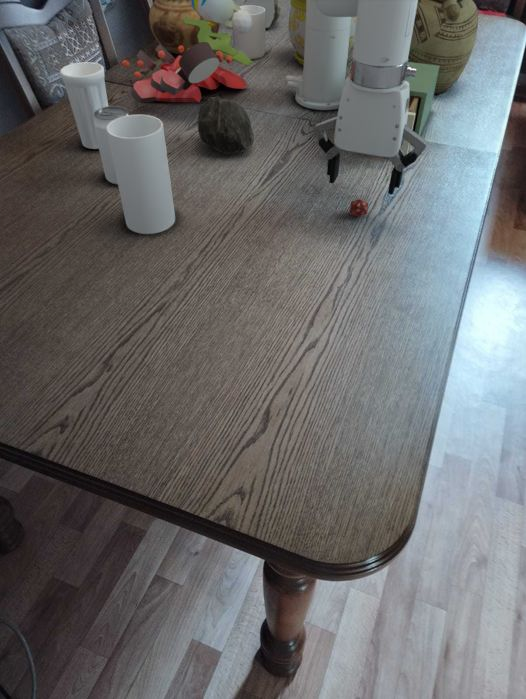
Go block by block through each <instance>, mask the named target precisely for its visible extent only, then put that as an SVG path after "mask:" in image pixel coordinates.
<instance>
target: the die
mask: <svg viewBox="0 0 526 699" xmlns="http://www.w3.org/2000/svg"><path fill="white" fill-rule="evenodd" d="M368 208H369V203H368V202H367V201H364V200H363V199H360V198H359V199H356V200H351V201H350V205H349V210H348V211H349V212H348V213H349V214H351V215H353V216H355V217H358V218H359V217H361V216H365V215H368Z"/></svg>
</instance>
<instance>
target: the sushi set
mask: <svg viewBox="0 0 526 699" xmlns="http://www.w3.org/2000/svg"><path fill="white" fill-rule="evenodd" d="M191 4H192V7H193V8H194V10H195V11H196V12H197V14H198V15H199V16H200V17H201V18H202V19H203V20H189V19H188V17H187V13H186V15H185V18H184V22H185V24H188V25H192V26H197V27H199V28H200V31H199V33H198V35H197V37H198V41H199V43H198V44H195V45H193V46H192V47H190V48H188V49H187V51H185V52H184V54H183V55H180V54H178V55H177V56H176V58H175V57H173V55H172V54H171V52H170V51H168V50H166V49H165V48H164V47H163V46H162V45H160V44H159V43H158V46H156V48H155V51H156V52H157V57H158V58H160V59H162V60H163V61H164V62H165V63H162V64H159V66H160V69H159V70H158V71H154V69H156V67H157V66H158V65H157V64H156V63H155V62H154V61H153V60H152V59H151V58H150V57H149V56H148V55H147V54H146V53H145V52H144V51H143V50H141V49H140V50H139V52H137V54H136V57H137V58H138V59H139V60H138V61H137V62H136V65H137V67H138V68H143V67H144V66H145V67H146V68H147V69H148V70H150V71H152V72H153V71H154V73H152V76H151V77H150V78H142V79H141V80H140V78H141V77H142V74H141V72H140V71H135V72H133V73H134V74H133V76H134V78H135V79H136V81H135V82H134V84H133V85H132V87H131V89H130V93H131V95H132V96H133V97H134V99H135V100H136V102H138V104H142V103H151V102H154V101H155V102H164V103H200V102H201V99H202V93H201V89H200V87H201V88H204V89H206V90H207V89H208V90H211V91H212V90H216V89H217V88H218V87H220V83H221V84H222V85H224V86H226V87H227V88H231V89H245V88H246V87H247V86H248V83H247V82H246V81H245V79H244V77H242V76H240V75H239V74H238V73H236V72H234V71H232V70H229V69H227V68H225V67H223V66H220V63H223V62H224V61H225V62H226V63H228V64H231V63H232V62H233V61H234V62H236V63H239V64H241V65H244V66H246V67H249V66H250V65H252V64H254V61H253V60H252V59H249V58H248V57H247V56H246V55H245V54H244V53H243V52H242V51H237V50H236V49H234V48H233V45H231V43H232V41H233V36H231V35H230V34H228V33H227V32H226V33H225V32H218V33H212V31H211V26H214V25H216V24H218V23H220V24H221V25H222V24H224V25H225V26H227V27H228V28H232V30H233V29H234V30H235V31H236V32H237V33H240V34H244V33H247V32H248V31H249V30H250V29H251V26H252V24H253V22H252V17H251V15H250V14H249V13H248V12H247V11H245V10H243V9H242V10H241V8H240V7H239V6H240V5H238V4H237V3H235V2H234V1H233V0H191ZM205 20H206V21H205ZM207 21H208V22H207ZM209 36H210V37H214V38H216V40H213V39H212V38H210V37H209ZM178 51H179V52H183V51H184V47H183V46H179V47H178ZM121 65H122V66H123V68H128V67H129V66H130V63H129V61H128V60H127V59H124V60H122V62H121ZM137 79H138V80H137Z"/></svg>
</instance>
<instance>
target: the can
mask: <svg viewBox="0 0 526 699" xmlns="http://www.w3.org/2000/svg"><path fill="white" fill-rule="evenodd" d="M128 115H129V114H128V109H127V108H126V107H124V106H120V105H108V106H106V107H102V108H99V109H98V110H96V111H95V112H94V116H95V119H94V128H95V133H96V137H97V142H98V146H99V149H98V150H99V151H98V152H99V155H100V159H101V163H102V168H103V172H104V176H105V179H106V181H107V182H109V183H111V184H113V185H117V186H118V182H117V177H116V173H115V168H114V163H113V158H112V153H111V149H110V144H109V139H108V134H107V126H108V124H109V123H110V122H112V121H113V120H115V119H117V118H120V117H124V116H128Z"/></svg>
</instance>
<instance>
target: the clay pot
mask: <svg viewBox="0 0 526 699" xmlns="http://www.w3.org/2000/svg"><path fill="white" fill-rule="evenodd" d="M186 13H187V17H188V19H189V20H203V19H202V18H201V17H200V16H199V15H198V14H197V12H196V11H195V10H194V8H193V7H192V4H191V0H154V1H153V3H152V4H151V6H150V9H149V12H148V22H149V27H150V31H151V32H152V35H153V37H154V38H155V40H156V42H157V43H158V45H159V44H160V45H162V46H163V47H164V48H165V49H166V50H167V51H168V52H169V53H172V54H176V55H180V56H182V55H183V54H184V52H185V51H187V49H188V48H190V47H192V46H193V45H195V44H198V43H199V41H198V37H197V35H198V33H199V31H200V28H199V27H197V26H192V25H188V24H185V22H184V18H185V15H186ZM205 21H206V20H205ZM207 22H208V21H207ZM220 28H221V23H218V24H216V25H214V26H211V31H212V33H220V32H219V31H220ZM209 37H210V36H209ZM210 38H212V39H213V40H217V38H214V37H210ZM179 46H183V47H184V51H183V52H179V51H178V47H179Z"/></svg>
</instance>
